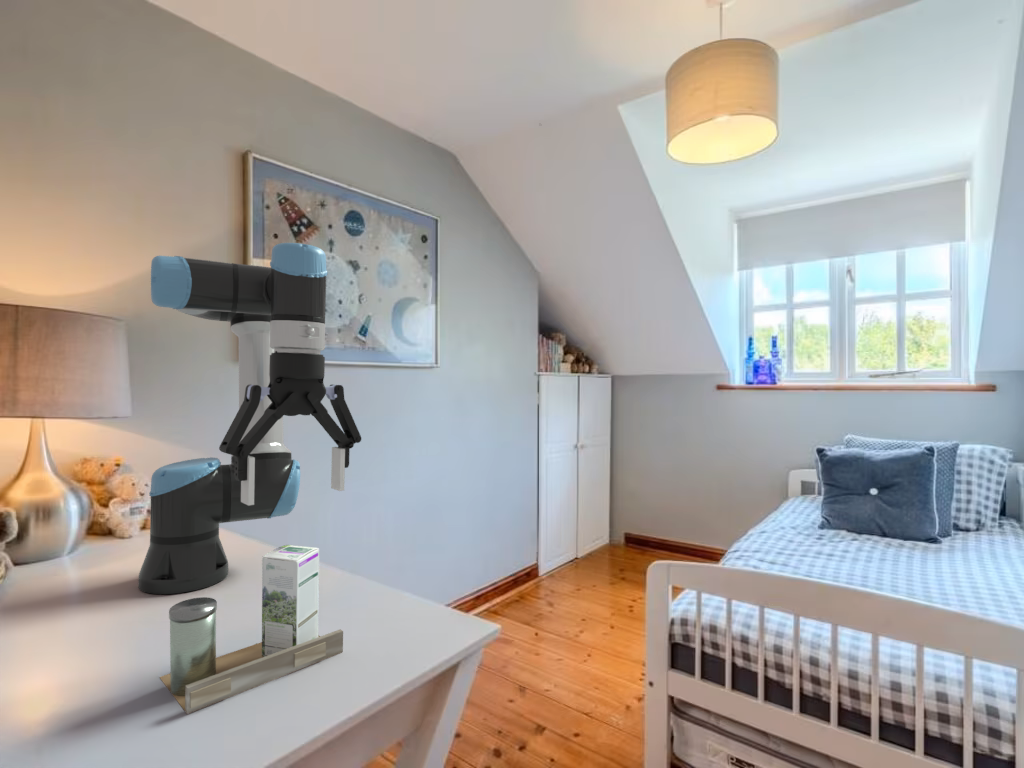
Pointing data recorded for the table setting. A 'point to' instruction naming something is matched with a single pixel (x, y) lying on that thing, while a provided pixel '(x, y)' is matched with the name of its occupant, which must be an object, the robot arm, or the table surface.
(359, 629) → the table surface
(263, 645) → the syrup box
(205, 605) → the sage tin
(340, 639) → the shelf board
